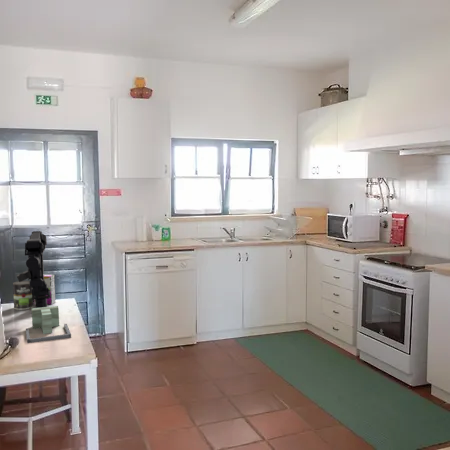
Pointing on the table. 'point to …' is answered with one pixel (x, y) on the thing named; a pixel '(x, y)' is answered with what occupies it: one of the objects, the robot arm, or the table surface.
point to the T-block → (45, 318)
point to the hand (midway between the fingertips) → (36, 296)
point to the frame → (48, 336)
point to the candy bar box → (51, 285)
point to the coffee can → (22, 295)
